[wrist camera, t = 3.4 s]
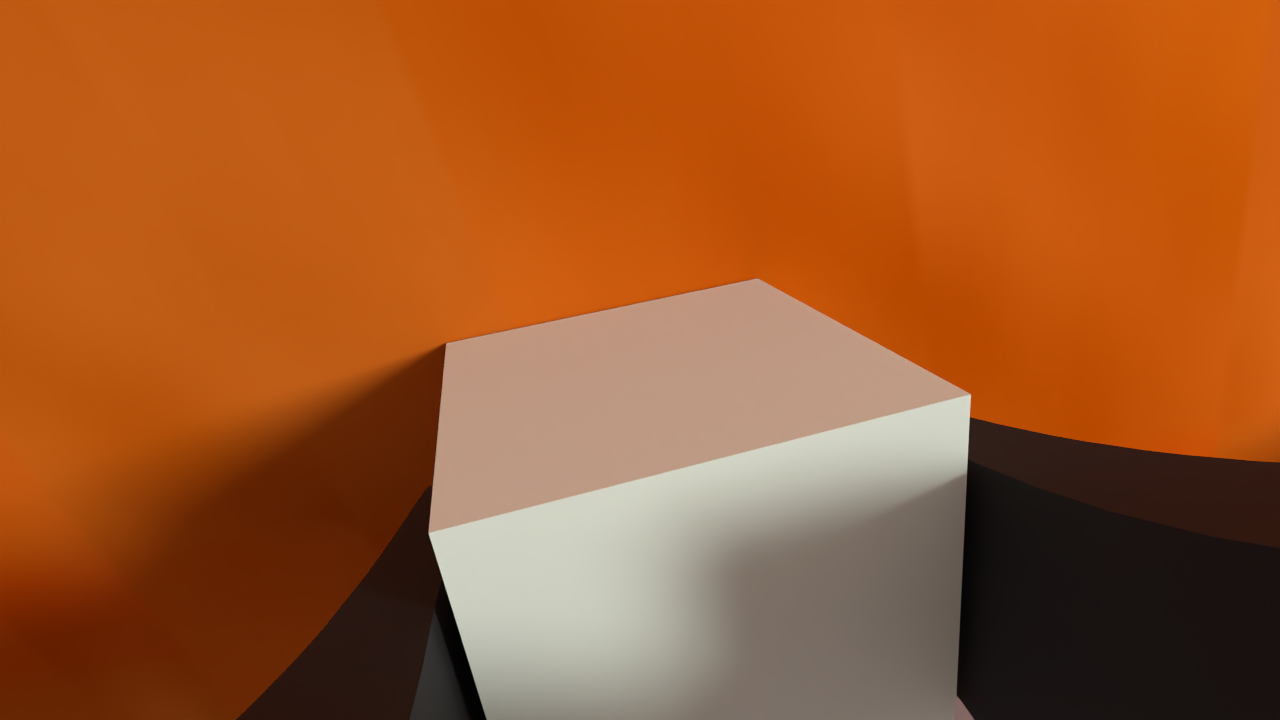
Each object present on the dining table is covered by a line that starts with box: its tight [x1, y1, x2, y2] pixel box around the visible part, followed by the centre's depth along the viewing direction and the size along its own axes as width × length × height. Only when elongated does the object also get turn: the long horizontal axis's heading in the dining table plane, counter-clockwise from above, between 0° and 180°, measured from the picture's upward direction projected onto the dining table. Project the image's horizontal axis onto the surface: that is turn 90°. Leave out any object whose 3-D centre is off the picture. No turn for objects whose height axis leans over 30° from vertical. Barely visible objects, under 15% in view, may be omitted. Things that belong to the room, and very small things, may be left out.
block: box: [429, 278, 971, 720], centre depth 9 cm, size 5×5×5 cm
